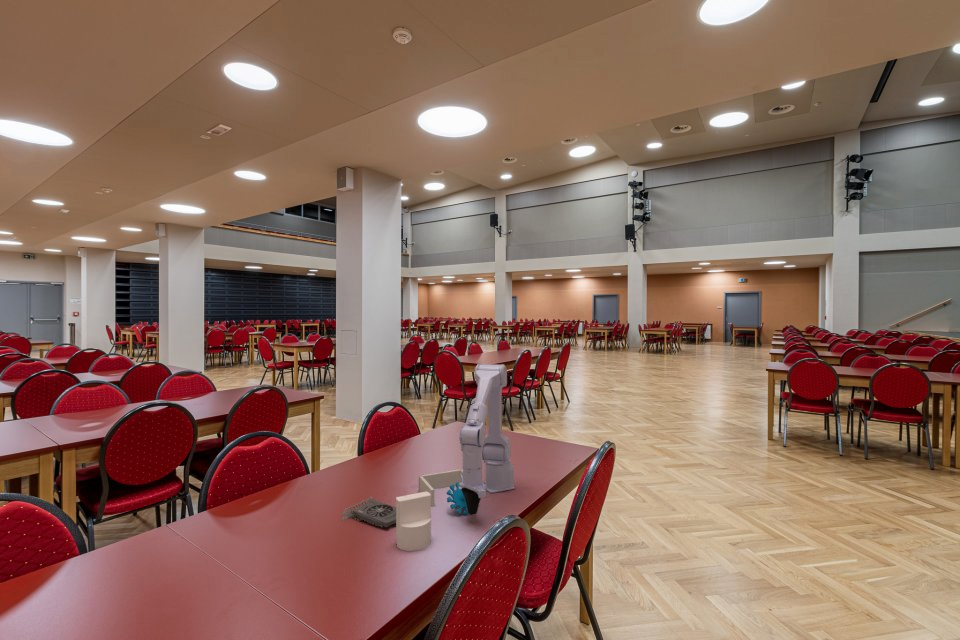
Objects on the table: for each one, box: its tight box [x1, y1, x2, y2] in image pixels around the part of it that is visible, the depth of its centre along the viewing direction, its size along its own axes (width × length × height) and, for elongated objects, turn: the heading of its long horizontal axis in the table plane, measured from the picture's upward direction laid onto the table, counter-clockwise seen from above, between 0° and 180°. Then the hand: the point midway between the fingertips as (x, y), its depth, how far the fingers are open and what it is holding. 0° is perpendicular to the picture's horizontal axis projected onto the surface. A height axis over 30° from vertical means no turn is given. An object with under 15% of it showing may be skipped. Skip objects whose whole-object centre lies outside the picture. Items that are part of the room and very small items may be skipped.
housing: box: [418, 468, 463, 507], centre depth 146 cm, size 16×14×5 cm
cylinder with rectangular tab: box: [395, 491, 432, 552], centre depth 114 cm, size 9×9×12 cm
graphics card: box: [341, 496, 396, 528], centre depth 127 cm, size 17×4×12 cm
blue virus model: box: [446, 482, 469, 516], centre depth 134 cm, size 11×6×10 cm
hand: (472, 513), depth 127 cm, fingers closed
